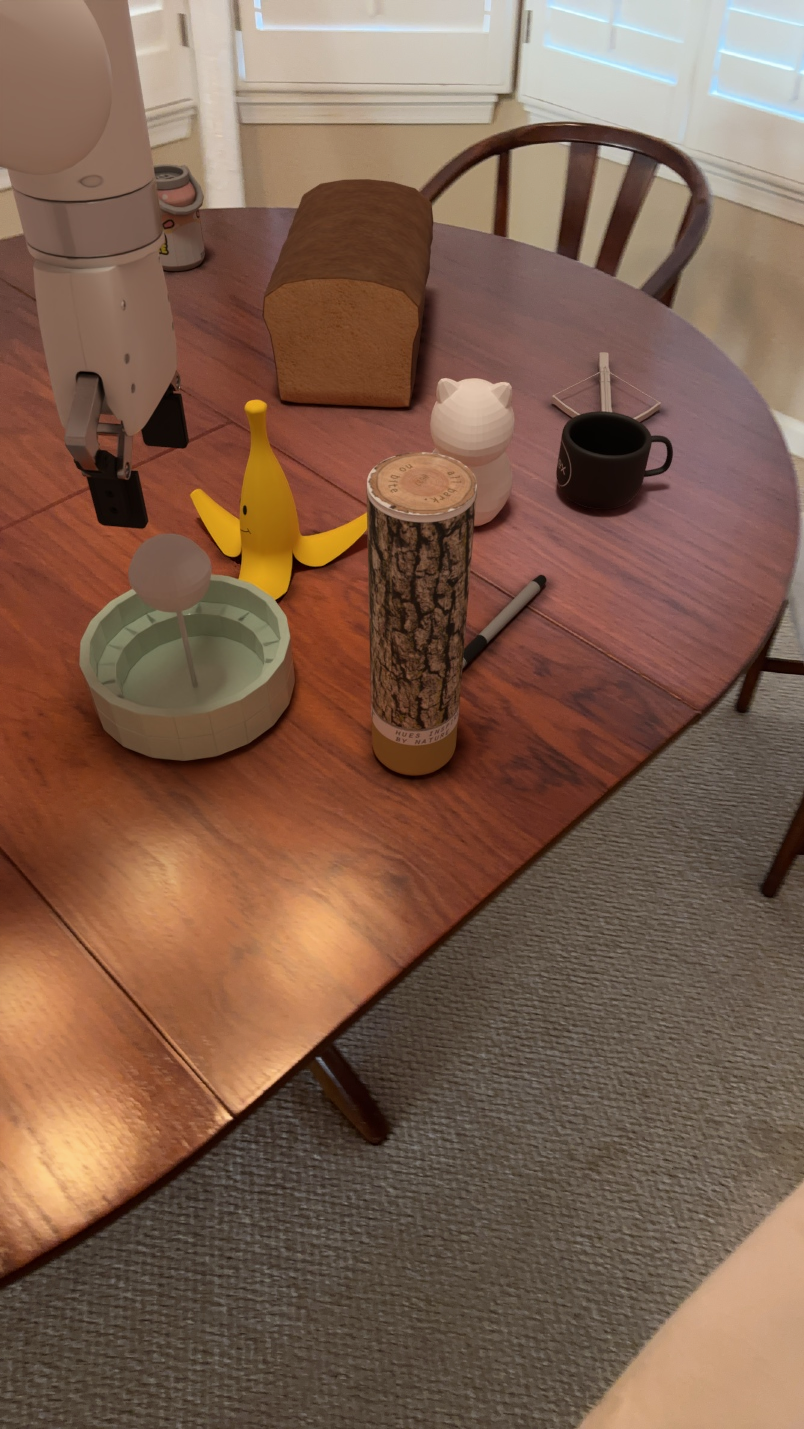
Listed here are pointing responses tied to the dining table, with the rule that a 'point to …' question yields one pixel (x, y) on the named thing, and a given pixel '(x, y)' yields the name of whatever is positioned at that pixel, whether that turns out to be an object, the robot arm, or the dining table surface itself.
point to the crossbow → (604, 391)
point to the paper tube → (418, 605)
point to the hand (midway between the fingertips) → (146, 482)
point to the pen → (502, 618)
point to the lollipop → (171, 578)
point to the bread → (351, 295)
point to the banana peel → (269, 519)
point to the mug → (605, 459)
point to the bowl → (156, 680)
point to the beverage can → (179, 217)
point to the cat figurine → (477, 437)
